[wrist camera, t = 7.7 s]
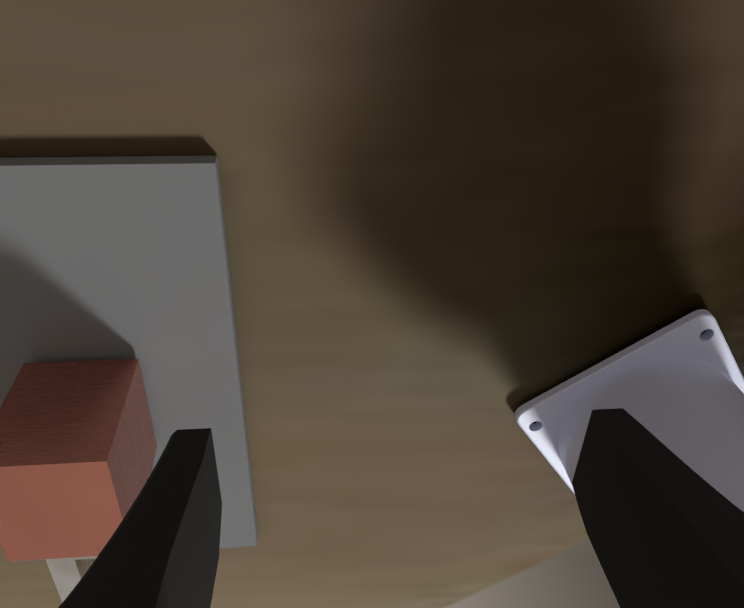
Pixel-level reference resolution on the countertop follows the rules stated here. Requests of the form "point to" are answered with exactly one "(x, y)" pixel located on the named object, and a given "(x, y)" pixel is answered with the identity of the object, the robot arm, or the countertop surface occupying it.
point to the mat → (130, 293)
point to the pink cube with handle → (71, 461)
